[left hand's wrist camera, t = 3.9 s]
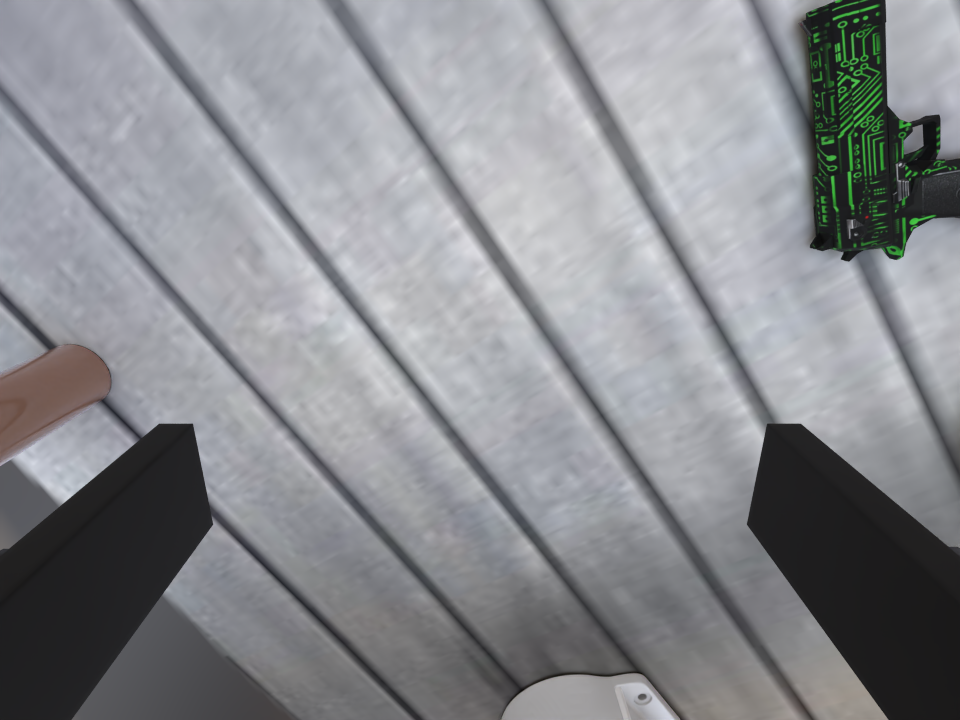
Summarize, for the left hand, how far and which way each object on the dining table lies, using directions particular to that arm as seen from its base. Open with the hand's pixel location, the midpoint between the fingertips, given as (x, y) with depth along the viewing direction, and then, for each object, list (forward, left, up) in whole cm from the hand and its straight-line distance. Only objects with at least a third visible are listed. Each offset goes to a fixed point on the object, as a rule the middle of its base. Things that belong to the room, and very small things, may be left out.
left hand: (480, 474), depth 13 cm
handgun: (-8, +28, -28) cm, 40 cm away
